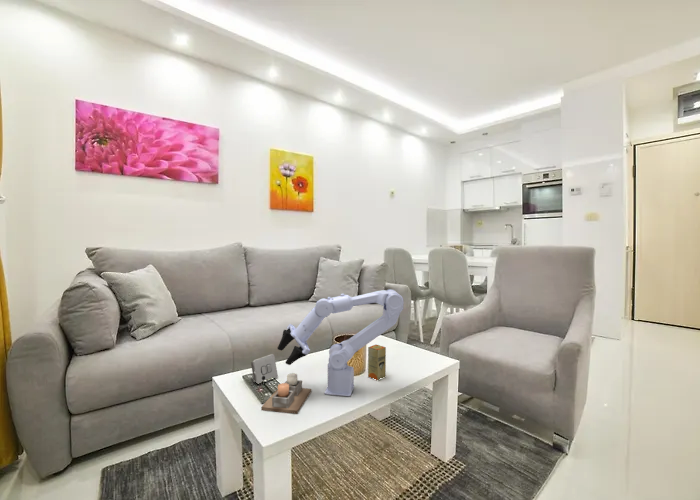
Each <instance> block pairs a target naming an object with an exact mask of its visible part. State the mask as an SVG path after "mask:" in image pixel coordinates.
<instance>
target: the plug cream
mask: <svg viewBox="0 0 700 500" xmlns="http://www.w3.org/2000/svg"><path fill="white" fill-rule="evenodd" d="M297 380H298V374H297V373H293V372H292V373H289V374H287V376H286V381H287V384H289V386H295V385H297Z"/></svg>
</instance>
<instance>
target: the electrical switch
mask: <svg viewBox="0 0 700 500" xmlns="http://www.w3.org/2000/svg"><path fill="white" fill-rule="evenodd" d="M250 365H251V372H252V378H253V381H254V380H255V381H256V383H258V384H259V383H261V382H262V381H264V380H266V379H269V378H271V377H273V378H275V379H274V380H276V379H277V378H278V377H279V376H278V370H277V363H276V357H275V354H273V353H271V354H268V355H265V356H262V357H259V358H256V359H253V361H251V362H250ZM256 383H255V384H256Z"/></svg>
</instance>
